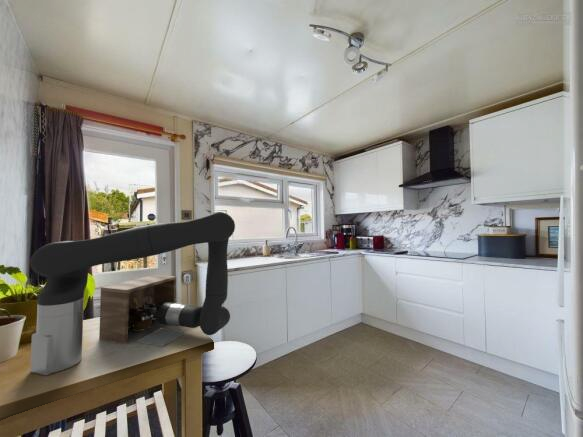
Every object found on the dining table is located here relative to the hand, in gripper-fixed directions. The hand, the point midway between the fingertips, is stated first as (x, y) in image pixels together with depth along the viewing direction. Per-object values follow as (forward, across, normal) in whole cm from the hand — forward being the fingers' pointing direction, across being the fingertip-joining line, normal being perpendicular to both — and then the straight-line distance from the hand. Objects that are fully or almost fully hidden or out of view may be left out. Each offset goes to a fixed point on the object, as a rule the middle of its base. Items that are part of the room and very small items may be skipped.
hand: (137, 309), depth 91 cm
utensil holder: (-3, 0, +7) cm, 7 cm away
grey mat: (-16, +4, +6) cm, 17 cm away
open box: (-2, 0, +7) cm, 7 cm away
